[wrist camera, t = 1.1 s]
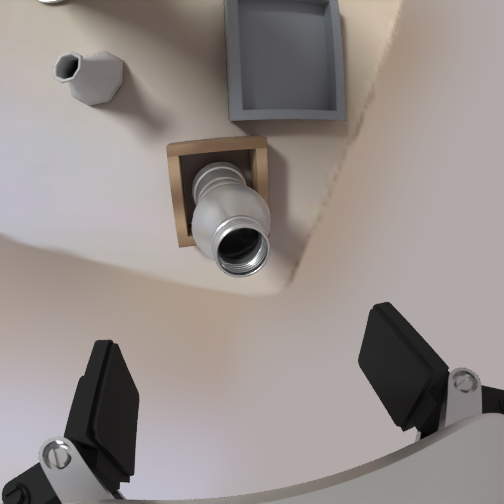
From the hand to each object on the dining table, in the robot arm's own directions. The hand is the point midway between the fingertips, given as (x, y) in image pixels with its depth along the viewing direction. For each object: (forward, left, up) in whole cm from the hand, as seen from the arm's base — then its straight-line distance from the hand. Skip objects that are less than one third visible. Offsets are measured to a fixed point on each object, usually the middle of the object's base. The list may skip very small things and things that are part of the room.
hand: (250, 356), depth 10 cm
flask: (-15, -13, -30) cm, 36 cm away
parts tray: (-16, +10, -30) cm, 35 cm away
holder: (+1, +1, -30) cm, 30 cm away
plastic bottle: (+1, +1, -30) cm, 30 cm away
